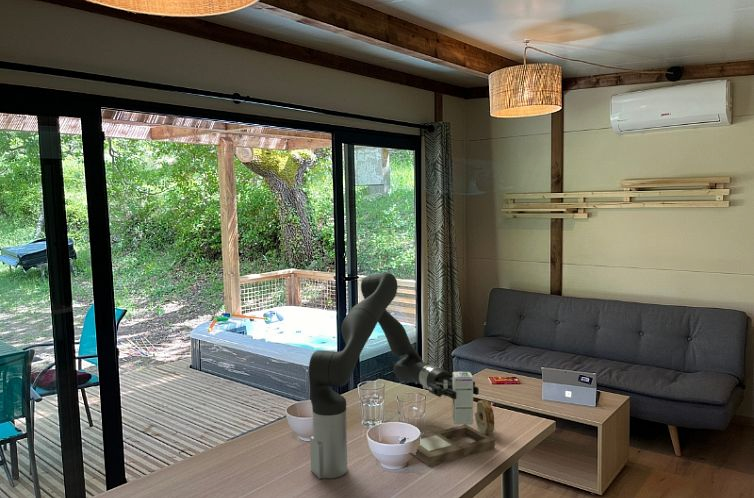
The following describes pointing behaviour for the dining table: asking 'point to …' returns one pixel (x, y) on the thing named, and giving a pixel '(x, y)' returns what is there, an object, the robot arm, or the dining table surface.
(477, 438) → the dock board
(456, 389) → the syrup box
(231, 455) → the dining table surface
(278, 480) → the dining table surface
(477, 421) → the bagel
